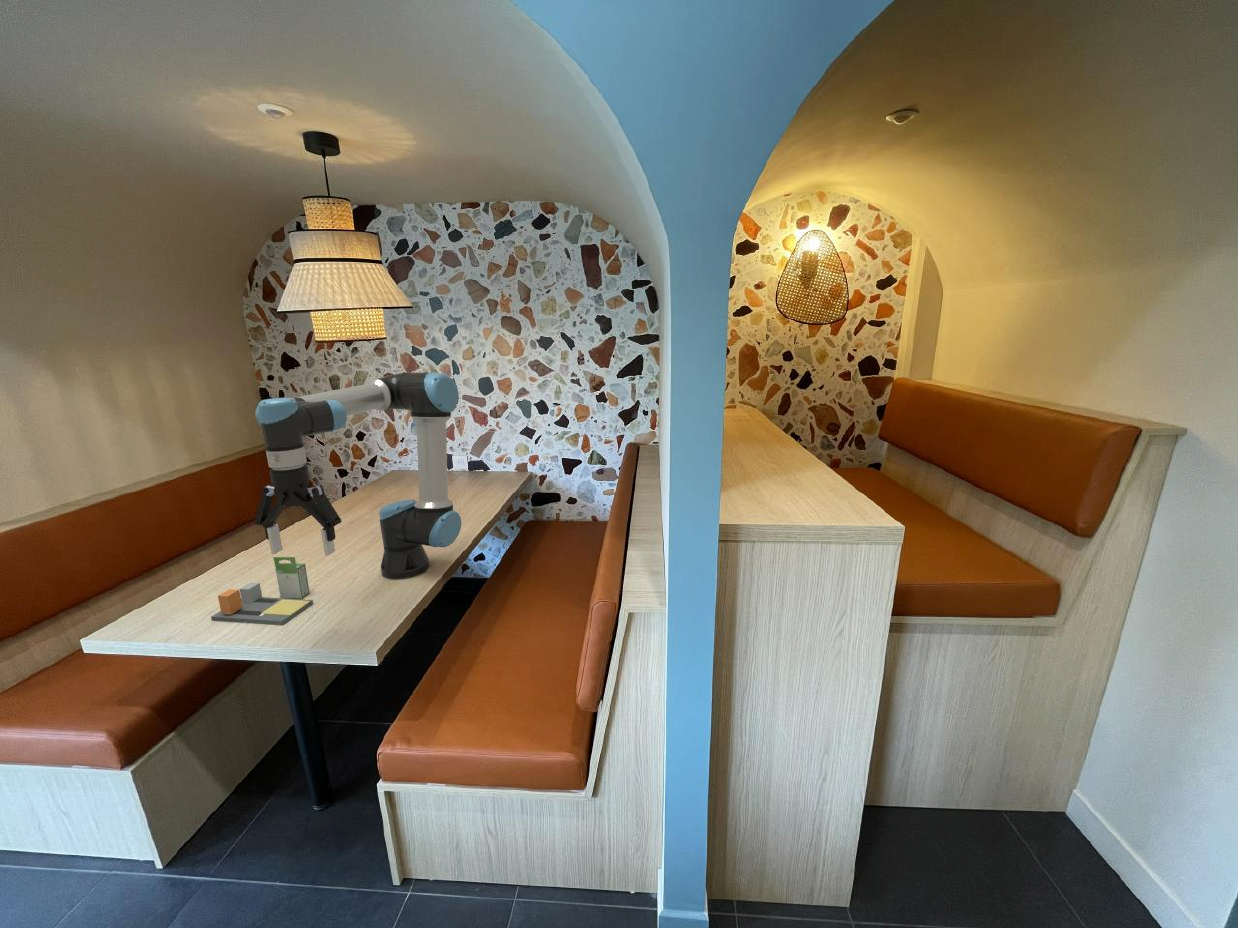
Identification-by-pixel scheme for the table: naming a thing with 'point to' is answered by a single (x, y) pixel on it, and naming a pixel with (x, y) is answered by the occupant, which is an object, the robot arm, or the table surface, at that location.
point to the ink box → (291, 578)
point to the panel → (257, 608)
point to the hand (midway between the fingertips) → (303, 552)
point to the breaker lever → (230, 601)
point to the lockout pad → (285, 607)
